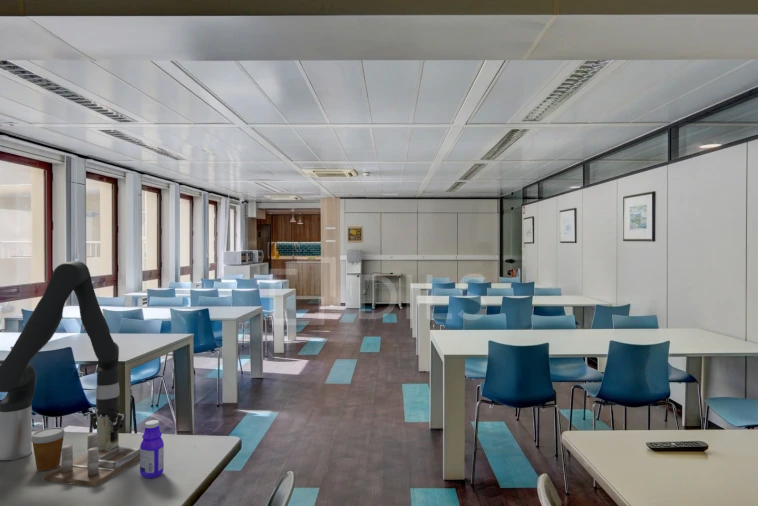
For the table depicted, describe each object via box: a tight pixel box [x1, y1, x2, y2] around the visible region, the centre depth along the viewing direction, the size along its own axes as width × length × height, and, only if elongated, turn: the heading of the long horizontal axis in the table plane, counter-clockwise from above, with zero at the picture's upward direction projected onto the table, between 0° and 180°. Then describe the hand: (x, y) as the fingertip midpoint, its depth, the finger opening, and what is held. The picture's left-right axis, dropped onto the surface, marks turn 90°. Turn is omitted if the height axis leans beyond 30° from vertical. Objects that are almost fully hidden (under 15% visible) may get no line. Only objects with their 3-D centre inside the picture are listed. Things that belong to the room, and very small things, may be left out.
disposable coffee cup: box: [31, 426, 66, 472], centre depth 153 cm, size 10×10×12 cm
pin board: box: [42, 432, 140, 487], centre depth 151 cm, size 20×20×10 cm
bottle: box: [139, 419, 165, 479], centre depth 147 cm, size 7×6×17 cm
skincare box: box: [96, 416, 120, 451], centre depth 168 cm, size 6×4×12 cm
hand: (108, 440), depth 168 cm, fingers closed on skincare box, 4 cm apart
